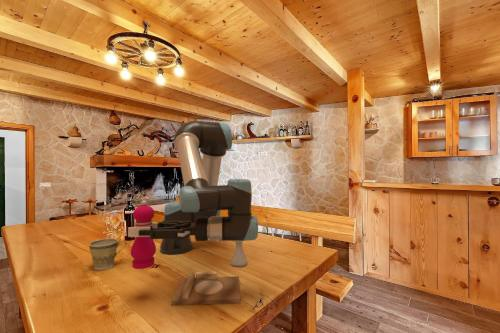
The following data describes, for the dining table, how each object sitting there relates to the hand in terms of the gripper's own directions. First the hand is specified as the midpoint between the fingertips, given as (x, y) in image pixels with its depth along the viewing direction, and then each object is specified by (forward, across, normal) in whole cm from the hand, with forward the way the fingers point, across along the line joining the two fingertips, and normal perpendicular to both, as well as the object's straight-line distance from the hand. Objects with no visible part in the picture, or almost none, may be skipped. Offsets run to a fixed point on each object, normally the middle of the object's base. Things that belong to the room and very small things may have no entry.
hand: (132, 229), depth 75 cm
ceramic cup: (+19, +25, -21) cm, 38 cm away
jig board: (-23, +2, -21) cm, 31 cm away
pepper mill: (-3, 0, -11) cm, 12 cm away
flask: (-33, +24, -21) cm, 46 cm away
